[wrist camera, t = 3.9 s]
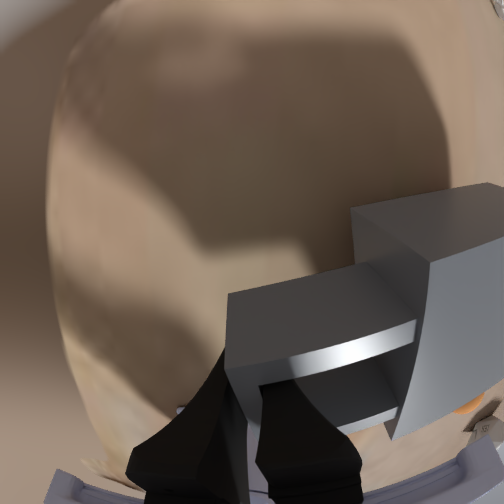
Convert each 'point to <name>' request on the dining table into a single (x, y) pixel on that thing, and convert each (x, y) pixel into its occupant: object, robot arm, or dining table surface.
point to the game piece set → (499, 8)
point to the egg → (470, 405)
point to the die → (489, 431)
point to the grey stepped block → (384, 317)
